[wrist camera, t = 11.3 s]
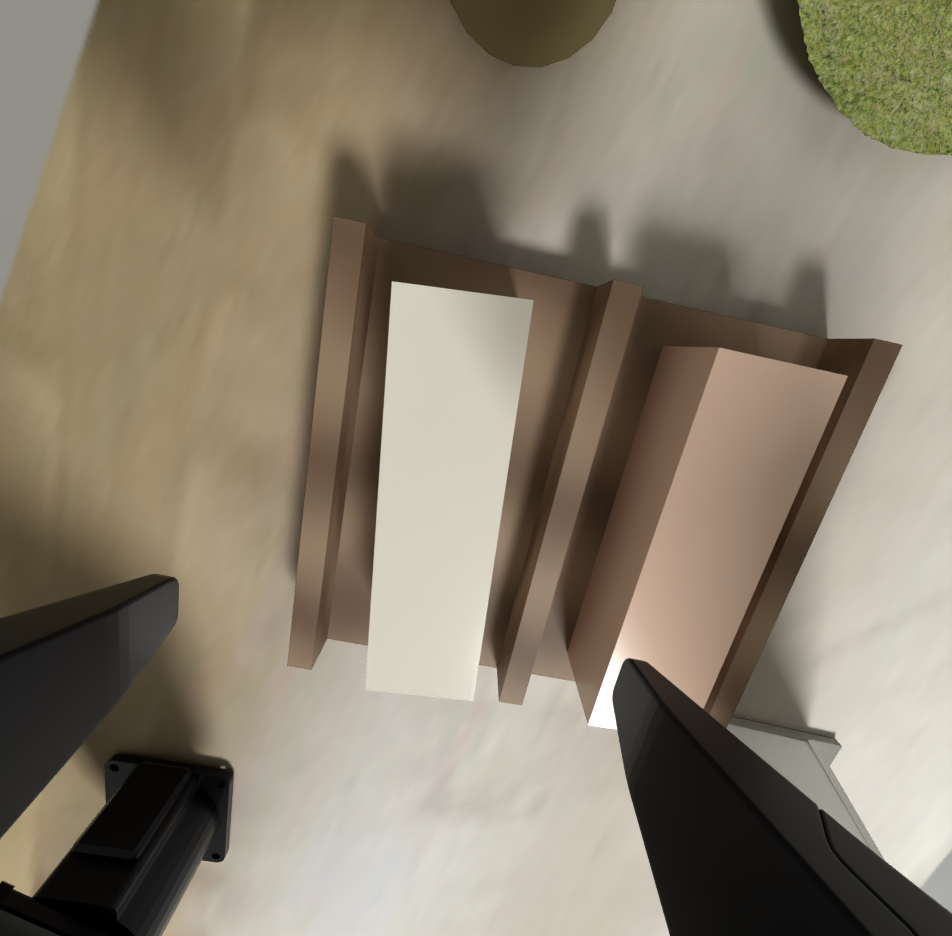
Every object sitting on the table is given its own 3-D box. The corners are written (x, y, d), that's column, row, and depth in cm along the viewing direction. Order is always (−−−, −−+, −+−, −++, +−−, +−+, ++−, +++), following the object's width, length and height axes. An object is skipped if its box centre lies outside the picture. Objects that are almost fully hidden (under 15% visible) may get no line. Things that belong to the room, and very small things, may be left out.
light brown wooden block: (649, 667, 21) (689, 741, 17) (567, 652, 20) (588, 724, 17) (762, 367, 17) (848, 375, 13) (662, 346, 17) (719, 347, 13)
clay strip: (474, 631, 20) (473, 700, 16) (386, 622, 20) (365, 689, 16) (520, 309, 16) (533, 300, 12) (412, 295, 16) (391, 281, 12)
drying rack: (687, 684, 22) (721, 739, 19) (314, 618, 21) (287, 665, 18) (828, 344, 18) (902, 344, 15) (360, 239, 17) (333, 216, 14)
